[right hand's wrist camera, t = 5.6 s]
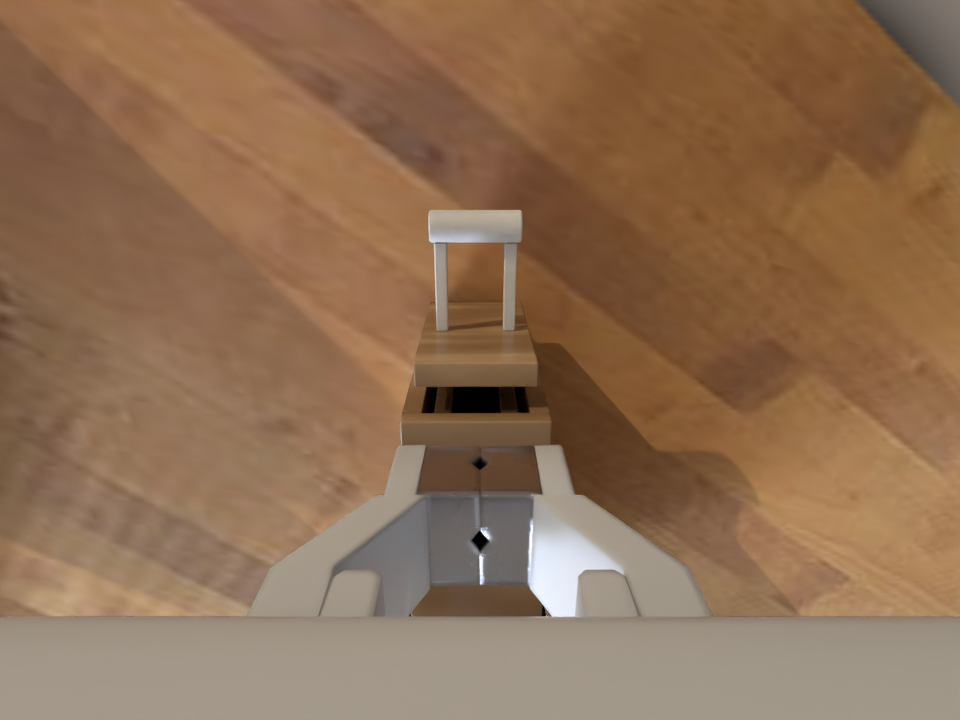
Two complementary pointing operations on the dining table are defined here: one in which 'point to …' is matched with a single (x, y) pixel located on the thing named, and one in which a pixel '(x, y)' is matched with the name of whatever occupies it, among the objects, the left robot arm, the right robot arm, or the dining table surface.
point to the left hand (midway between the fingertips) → (476, 600)
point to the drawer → (475, 324)
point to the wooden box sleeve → (480, 431)
